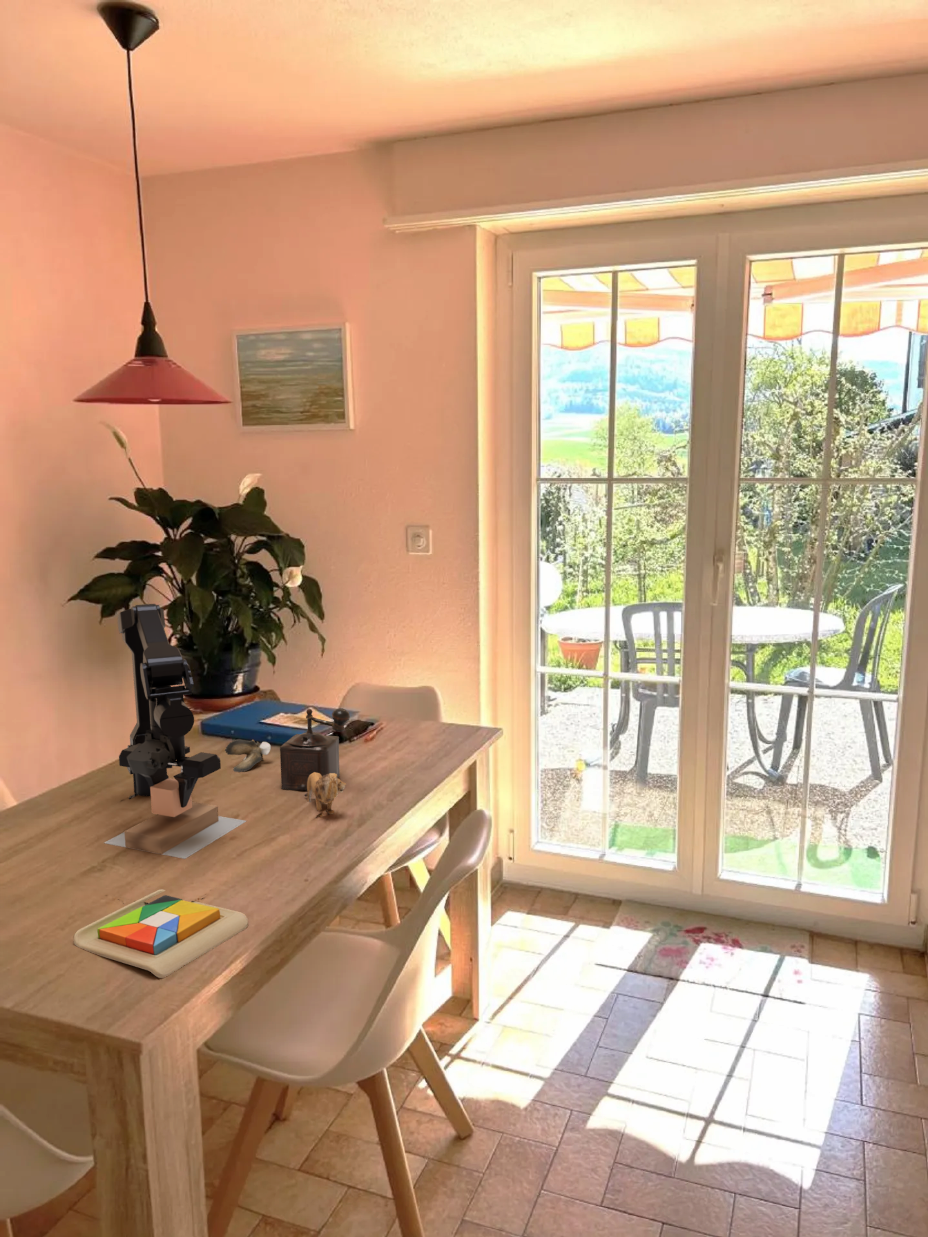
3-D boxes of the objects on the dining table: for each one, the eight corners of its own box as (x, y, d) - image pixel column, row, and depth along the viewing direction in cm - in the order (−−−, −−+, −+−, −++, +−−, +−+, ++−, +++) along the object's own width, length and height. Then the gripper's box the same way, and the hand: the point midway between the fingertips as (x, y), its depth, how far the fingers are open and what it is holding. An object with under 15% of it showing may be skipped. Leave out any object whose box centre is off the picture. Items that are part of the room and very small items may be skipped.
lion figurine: (349, 817, 176) (348, 773, 174) (325, 823, 172) (324, 779, 171) (315, 795, 187) (314, 754, 186) (292, 801, 184) (291, 759, 183)
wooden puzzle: (165, 898, 144) (164, 877, 143) (252, 928, 134) (251, 906, 134) (70, 947, 129) (68, 924, 129) (159, 985, 120) (157, 960, 119)
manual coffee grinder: (278, 790, 190) (275, 708, 187) (296, 773, 201) (293, 695, 198) (348, 794, 188) (346, 711, 185) (363, 777, 198) (361, 698, 196)
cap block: (151, 813, 163) (150, 787, 162) (170, 803, 167) (168, 778, 166) (174, 817, 161) (172, 790, 160) (192, 807, 165) (190, 781, 165)
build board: (104, 849, 161) (103, 842, 161) (170, 813, 177) (170, 807, 177) (185, 865, 154) (185, 858, 154) (247, 826, 171) (246, 820, 171)
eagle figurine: (244, 752, 212) (218, 756, 204) (259, 729, 210) (233, 732, 202) (264, 774, 209) (238, 778, 201) (279, 751, 207) (254, 754, 199)
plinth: (125, 847, 159) (124, 831, 158) (184, 815, 174) (183, 800, 173) (161, 854, 156) (160, 838, 156) (218, 820, 171) (217, 806, 170)
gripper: (93, 729, 157) (99, 813, 160) (179, 741, 151) (184, 828, 153) (138, 713, 168) (143, 792, 170) (220, 723, 161) (224, 806, 163)
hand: (171, 804), depth 164 cm, fingers closed on cap block, 5 cm apart
